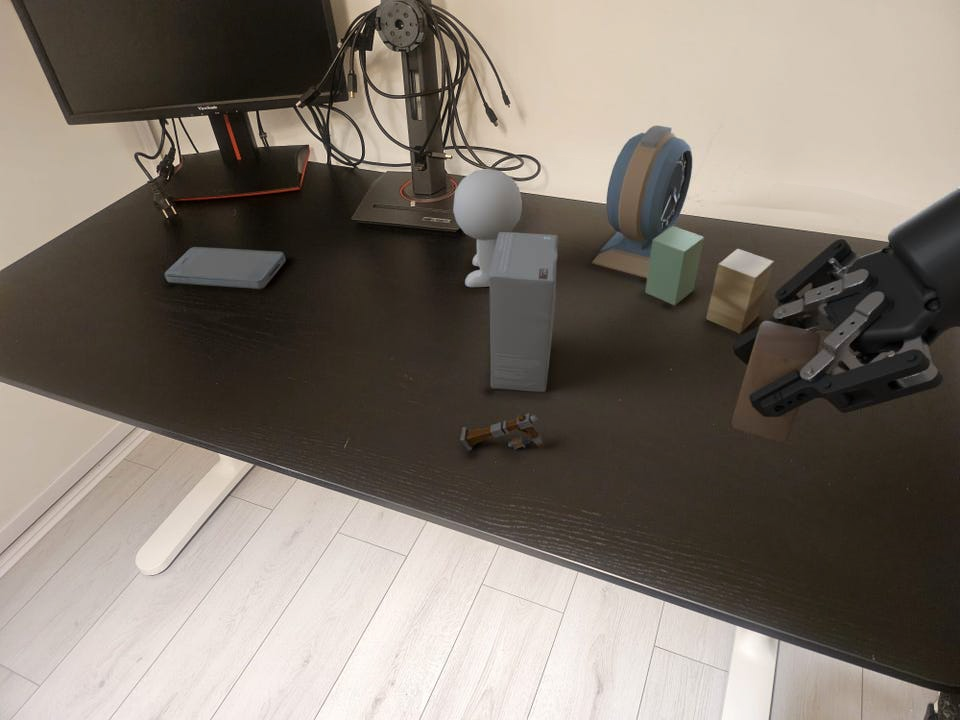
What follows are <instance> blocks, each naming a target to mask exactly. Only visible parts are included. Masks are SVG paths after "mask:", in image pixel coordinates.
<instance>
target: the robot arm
mask: <svg viewBox="0 0 960 720" xmlns="http://www.w3.org/2000/svg"><path fill="white" fill-rule="evenodd" d="M887 240H888V242H889V244H888V245H887V246H885V247H884V248H882V249H880V250H877V251H874V252H871V253H867V254H864V255H861V254H859V253H857V252H856V251H855V250H854V249H853V248H852V246H851V245H850V244H849V243H848V242H847V241H846V240H845V239H843V238H840V239H837V240H835V241H833V242H832V243H830V245H829V246H827V247H826V248H825V249H824V250H823V251H821V252H820V253H819V254H818V255H817V256H816V257H815V258H813V259H812V260H811V261H810V262H809V263H807V264H806V265H805V266H804V267H803V268H802V269H800V270H799V271H798V272H797V273H796V274H794V275H793V276H792V277H791V278H789V279H788V280H787V281H786V282H785V283H784V284H783V285H782V286H781V287H779V288H778V289H777V290H776V292H775V293H774V298H775V299H776V300H777V301H778V303H777V308H776V309H775V310H774V311H773V315H772V316H771V317H770V318H768V319H767V320H766V321H770V322H774V323H779V324H783V325H788V326H792V327H797V328H801V329H806V330H810V331H815V332H818V331H824V332H831V333H829V335H827V337H825V338H824V340H823V342H822V348H821V350H820V351H818V354H817V355H816V356H815V357H814V358H813V359H811V360H810V361H809V362H808V363H807V364H806V365H805V366H804V367H803V368H802V369H801V371H800V373H799V372H798V371H797V370H796V369H795V370H793V371H791V372H790V373H788V374H786V375H784V376H782V377H781V378H779V379H777V380H775V381H773V382H772V383H770V384H768V385H766V386H764V387H763V388H761V389H759V390H757V391H755V392H754V393H752V394H751V395H750V396H749V399H750V402H751V405H752V407H753V408H755V409H756V410H757V411H758V412H759V413H760V414H761V415H763V416H764V417H779V416H782V415H784V414H786V413H788V412H790V411H792V410H793V409H795V408H797V407H799V406H800V407H801V406H803V405H805V404H807V403H809V402H811V401H813V400H815V399H825V400H826V401H827V402H828V403H830V404H831V405H832V406H833V407H834V408H835V409H836V410H838V412H840V413H842V414H848V413H851V412H855V411H858V410H861V409H862V410H863V409H865V408H868V407H872V406H873V407H874V406H876V405H880V404H883V403H886V402H890V401H893V400H897V399H901V398H904V397H907V396H912V395H914V394H919V393H922V392H925V391H929V390H933V389H935V388H937V387H939V386H940V385H942V383H943V381H944V377H943V373H941V372H940V371H939V370H938V367H937V366H936V365H935V364H934V363H933V359H932V355H931V352H930V346H931V345H932V344H934V343H935V341H936V340H937V339H938V338H939V337H940V336H941V335H942V334H944V333H945V332H946V331H948V330H950V329H951V328H956V327H957V328H960V186H959V187H957V188H956V189H953V190H952V191H950V192H949V193H948V194H946V195H945V196H943V197H941V198H940V199H938V200H937V201H935V202H933V203H932V204H930V205H928V206H927V207H925V208H923V209H922V210H921V211H919V212H917V213H916V214H914V215H912V216H911V217H909V218H907V219H906V220H905V221H903V222H901V223H900V224H898V225H897V226H895V227H894V228H892V229H891V230H890V231H889V232H888V235H887ZM810 284H811V288H810V289H809V290H807V291H805V292H804V294H803V295H802V296H801V297H800V296H799V295H798V294H799V293H800V292H801V291H802V290H803V289H805V287H806V286H808V285H810ZM806 315H807V316H806ZM805 316H806V317H805ZM759 327H760V324H759V325H757V326H756V327H755V328H752V329H751V330H750V331H747V332H746V333H744V334H743V335H742V336H741V337H740V338H738V339H737V341H735V342H734V343H732V346H731V348H732V351H733V354H734V355H735V357H737V358H738V359H739V360H740V361H741V362H742V363H743V364H744V365H746V366H748V363H749V360H750V356H751V353H752V349H753V346H754V343H755V340H756V336H757V333H758V330H759ZM850 349H851V350H852V351H853V352H854V353H856V352H857V354H856V355H854V354H853V353H852V352H851V351H850ZM836 364H837V366H835V367H834V365H836ZM832 367H834V368H833V369H832V370H831V371H830V372H829V373H827V372H828V371H829V370H830V369H831V368H832ZM800 407H799V408H800Z"/></svg>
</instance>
